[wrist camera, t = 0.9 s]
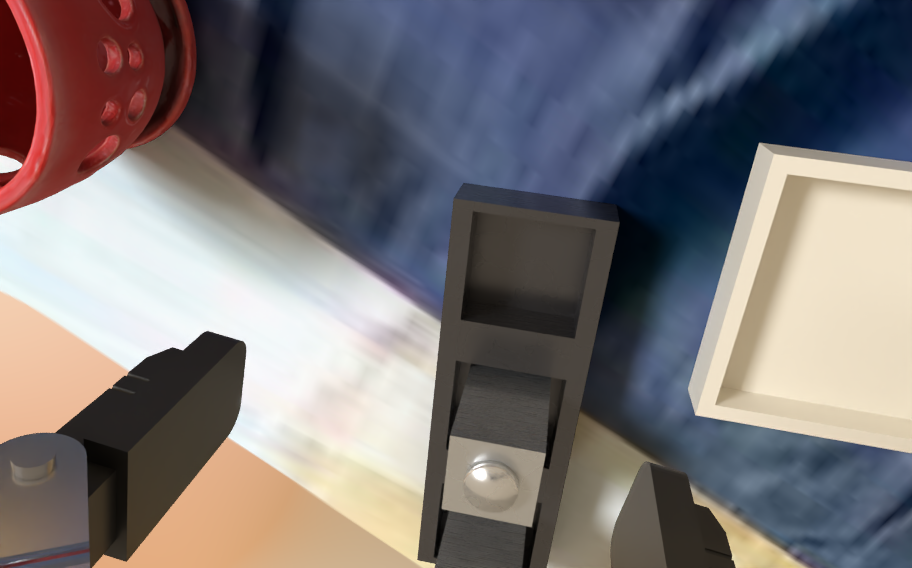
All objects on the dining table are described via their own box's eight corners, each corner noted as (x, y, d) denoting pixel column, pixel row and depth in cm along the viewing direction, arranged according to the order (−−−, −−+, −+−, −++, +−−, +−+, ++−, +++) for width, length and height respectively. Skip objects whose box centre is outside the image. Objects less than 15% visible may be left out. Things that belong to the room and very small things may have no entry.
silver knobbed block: (551, 365, 37) (545, 461, 29) (540, 430, 39) (530, 536, 31) (474, 352, 38) (447, 443, 30) (466, 416, 40) (439, 517, 32)
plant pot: (-1, -146, 32) (-299, -223, 21) (245, -40, 32) (74, -62, 21) (-15, 106, 37) (-257, 147, 27) (194, 197, 37) (38, 275, 27)
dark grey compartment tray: (616, 204, 33) (619, 222, 31) (544, 549, 43) (542, 586, 41) (463, 183, 34) (453, 198, 32) (427, 525, 44) (417, 560, 41)
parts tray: (1078, 183, 29) (1121, 199, 27) (951, 434, 35) (978, 465, 33) (759, 142, 31) (774, 154, 29) (687, 388, 37) (695, 414, 34)
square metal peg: (530, 482, 41) (519, 595, 33) (520, 536, 42) (507, 655, 35) (459, 468, 41) (432, 576, 33) (452, 522, 43) (425, 636, 35)
